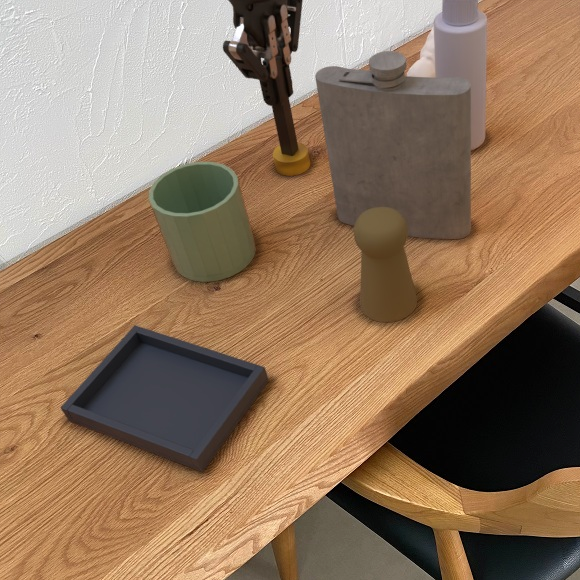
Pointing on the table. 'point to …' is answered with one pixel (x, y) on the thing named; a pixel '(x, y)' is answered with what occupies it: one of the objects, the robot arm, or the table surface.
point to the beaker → (203, 220)
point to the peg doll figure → (384, 265)
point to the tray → (167, 396)
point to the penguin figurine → (425, 60)
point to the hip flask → (399, 145)
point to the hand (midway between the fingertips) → (279, 99)
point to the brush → (287, 135)
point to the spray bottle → (464, 55)
